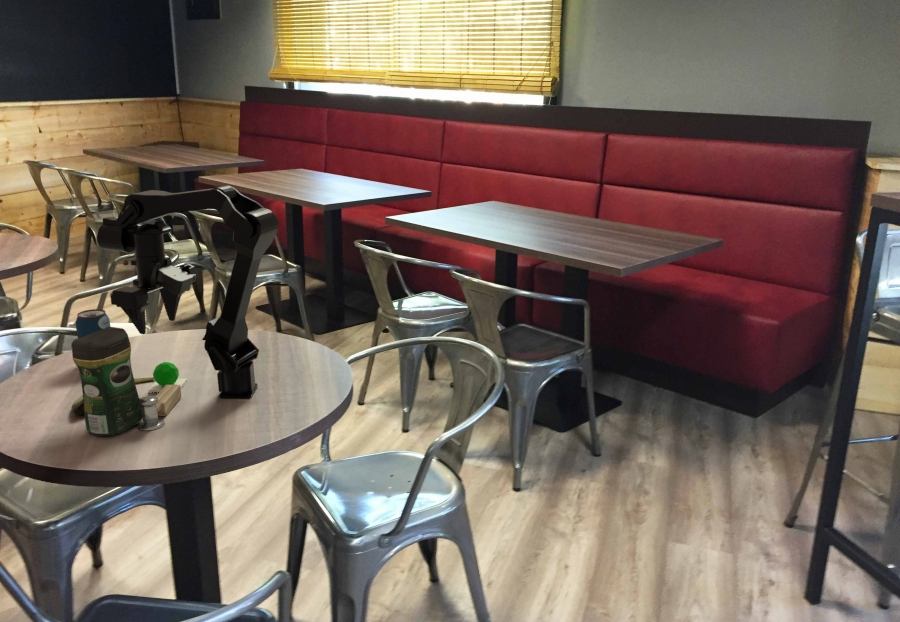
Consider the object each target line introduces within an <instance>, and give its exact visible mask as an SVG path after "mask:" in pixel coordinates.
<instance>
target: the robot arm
mask: <svg viewBox="0 0 900 622" xmlns="http://www.w3.org/2000/svg"><path fill="white" fill-rule="evenodd" d="M212 209H214V210H216V211H217V212H218V214H219V215H220V217H221V219H222V220H223V223H224V224H225V225H226V226H227V227H229V228H230V229H231V230H232V231H233V234H232V236H233V237H232V241H233V245H234V248H235V252H236V253H235V258H234V262H233V265H232V267H231V268H232V269H231V273H230V276H229V282H228V285H227V289H226V293H225V297H224V301H223V303H222V308H221V312H220V315H219V316H217V317H216V318H213V319H211V320H209V321H208V322H207V323H206V326H205V334H204V336H203V337H202V338H201V340H202V341H204V344H203V345H204V351H206V352H207V354H208V357H209V360H210V362H211V364H212V367H213V369H214V371H218V372H217V374H216V375H217V387H218V392H219V394H218V397H219V399H230V398H231V399H247V398H248V399H249V398H252V396H253V395H254V393H255V391H256V390H257V388H258V386H259V385H258V383H256V379H255V378H256V377H255V376H256V375H255V368H254V367H255V366H254V360H256V359H258V356H259V352H260V349H259V348H258V347H257V345H255V344H254V343H253V342H252V340H250V339H249V338H248V337H249V336H248V335H249V328H248V323H247V321H246V318H247V317H246V316H247V313H248V308H249V306H250V303H251V302H250V301H251V299H252V298H251V297H252V294H253V289H254V287H255V283H256V279H257V276H258V272H259V267H260V264H261V260H262V257H263V256H264V254H265V253H266V251H267V250H268V249H269V247H270V246H271V244H272V243H273V241H274V239H275V237H276V235H277V233H278V231H279V227H280V222H279V219H278V218H277V216H276V215H275V213H274V212H273V211H272V210H271V209H268V208H265V207H264V206H263V205H262V204H261V203H259V202H258V201H256V200H254V199H252V198H250V197H248V196H246V195H245V194H242V193H241V192H240V191H239V190H237V188H235V187H233V186H231V185H222V186H218V187H213V188H206V189H198V190H190V191H183V192H168V191H165V190H156V189H151V190H145V191H142V192H141V191H139V192H136V193H130V194H128V195H126V196H125V199H124V200H123V206H122V208H121V210H120V212H119V214H118V216H117V217H115V216H107V217H103V218H102V219H101V220H102V224H101V225H100V226H99V228H98V231H97V235H96V242H97V244H98V246H99V247H100V248H101V250H105V251H111V252H112V251H113V252H120V253H121V252H123V253H132V252H134V258H133V259H131V260H130V266H135V267H136V269H135V270H136V275H137V276H136V278H135V279H133V280H132V283H133V286H128V285H125V286H122V287H119V288H116V289H114V290H112V291H111V292H110V294H109V297H110V303H111V305H113V306H114V305H115V306H116V308H120V309H121V310H122V311H123V312H124V314H125V315H126V316H127V317H128V318H129V320H130V321H131V322H132V324H133V326H134V327H135V328H136V329H137V331H138V333H139V334H140V335H145V334H146V332H147V331H146V330H147V329H146V328H147V325H146V324H147V323H146V322H147V321H146V309H148V307H149V305H150V303H147V302H148V301H149V295H151V294H153V293H155V292H158V291H159V293H160V297H161V299H162V303H163V306H164V309H165V312H166V316H167V317H168V320H169V322H170V321H171V322H173V321H175V320H176V316H177V312H178V307H179V304H180V301H181V297H182V295H184V293H186V292H189V291H191V287H192V285H194V282H196V281H197V274H196V273H197V272H196V267H195V265H192V264H190V263H188V264H185V265H183V266H182V267H180V266H178V267H176V266H174V265H173V262H172V259H171V257H168V256H166V251H165V242H164V241H165V240H164V239H165V238H164V234H169V233H172V232H173V229H172V228H171V226H169V225H168V224H166V223H165V222H164V220H158V221H155V222H154V223H147V222H149V221H152V220H156V219H159V218H163V217H166V216H169V215H172V214H176V213H185V212H193V211H200V210H201V211H202V210H212ZM139 224H141V225H140V226H139ZM137 286H139V287H137Z"/></svg>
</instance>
